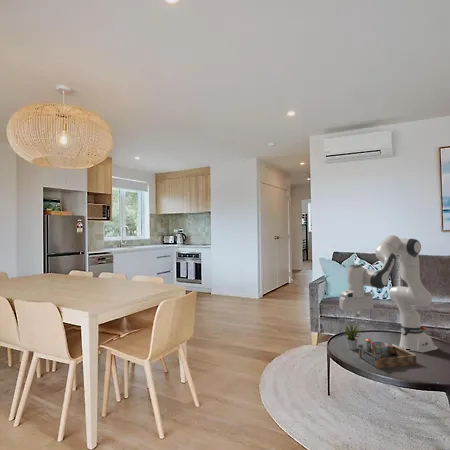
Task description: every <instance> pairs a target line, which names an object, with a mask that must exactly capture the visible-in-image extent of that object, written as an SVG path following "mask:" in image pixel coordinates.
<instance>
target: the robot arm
mask: <svg viewBox="0 0 450 450" xmlns="http://www.w3.org/2000/svg"><path fill="white" fill-rule="evenodd" d="M421 251H422V245H421V242H420V241H419V240H418V239H416V238H406V237H405V238H404V237H403V238H402V237H401V238H400V237H398V236H397V235H394V234H389V235H388V236H386V237H385V238H384V239H382V240H381V241H380V243H378V246H376V248H375V251H374V253H375V256H376V258H377V260H379V261H380V262H381V263H383V264H382V266H381V268H380V269H377V270H375V269H374V270H373V269H368V268H365V267H363V266H362V265H363V264H362V265H361V264H356V263H355V264H351V265H350V266H349V267H348V268H347V282H348V284H347V289H345V290H343V291H341V292H339V295H340V297H339V301H338V302H339V303H338V307H339V309H340V310H341V311H351V312H352V315H353V318H360V317H361V314H362V311H363V310H365V309H366V310H367V309H369V310H370V309H373V308H374V306H375V304H374V299H373V293H372V292H371V291H366V292H365V287H369V288H370V287H371V288H376V289H378V290H382V289H384V288H385V287H386V286H387V285H388V283H389V279H390V276H391V273H392V272H393V269H394V267H395V265H396V263H397V262H396V261H397V257H396V256H399V257H400V262H399V263H400V264H399V266H400V267H399V270H400V273H399V277H400V279H402V280H403V281H404V282H405V283H406V284H407V286H399V285H398V286H392V287H391V288H390V289H389V292H388V295H389V298H390V300H391V301H392V302H394V303H395V304H394V305H396V307H397V309H398V310H399V316H400V329H399V330H400V341H399V344H398V346H399V347H401V348H404V349H405V350H406V349H410V350H409V352H411V351H412V352H418V353H427V352H431V351H435V350H438V349H439V347H438V346H437V345H435V344H434V342H433V339H432V337H430V336H429V335H428V334H426V333H425V332H424V331H427V327H425V326H421V314H420V313H419V312H418V311H416V309H415V308H413V306H417V307H427V306H429V305H431V303H432V300H433V298H432V293H431V292H430V291H429V290H427V289H426V288H425V286H424V284H423V282H422V280H421V274H420V259H419V258H420V257H419V254H420V252H421ZM356 310H357V311H358V312H357V313H356Z"/></svg>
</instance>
